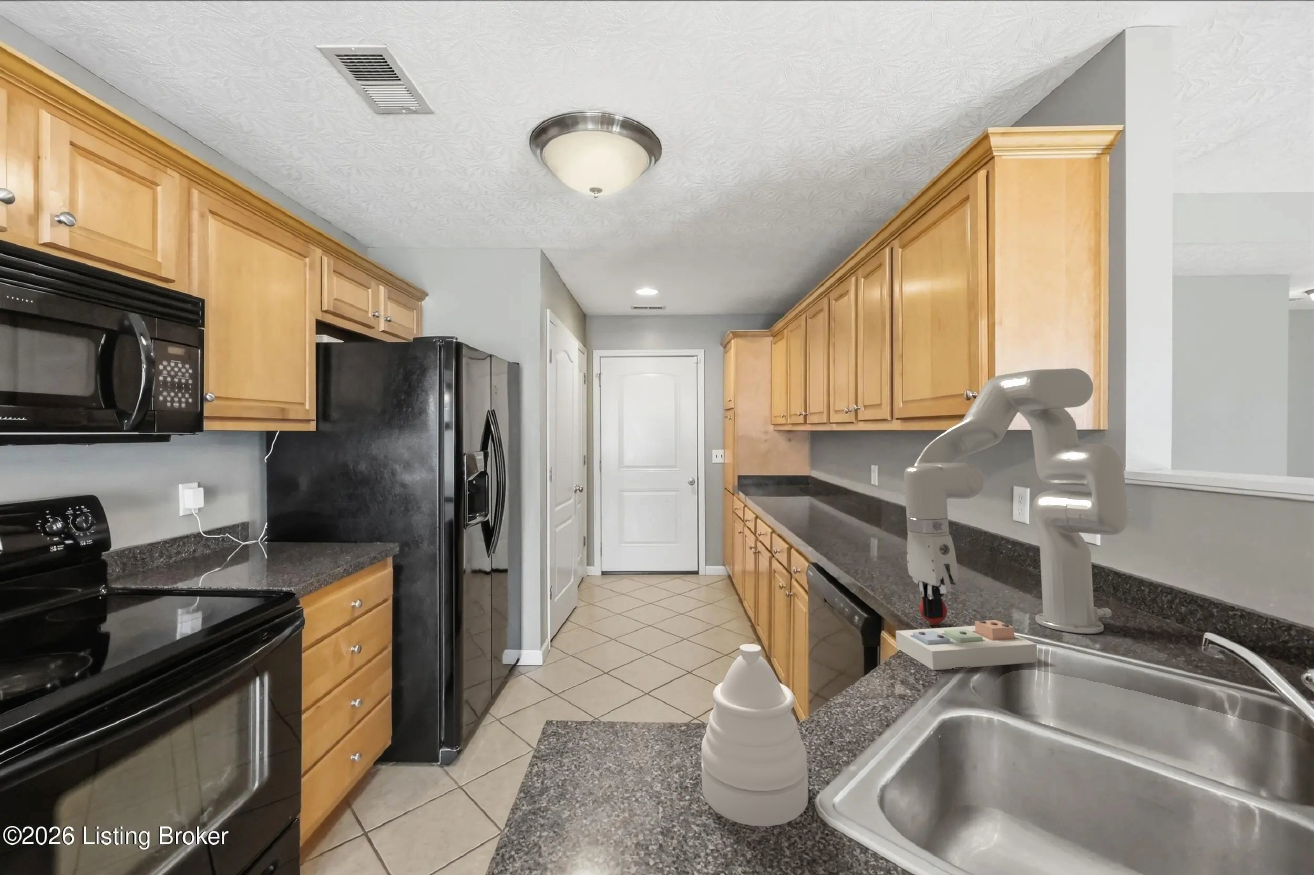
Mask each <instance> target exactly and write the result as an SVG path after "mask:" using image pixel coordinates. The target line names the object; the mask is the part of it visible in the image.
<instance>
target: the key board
mask: <svg viewBox="0 0 1314 875" xmlns="http://www.w3.org/2000/svg"><path fill="white" fill-rule="evenodd" d="M956 629H967V630H969V631H971V632H973V633H975V625H968V626H967V625H964V626H951V627H935V628H922V629H921V628H920V629H918V628H917V629H906V630H903V629H902V630H895V647H896V649H897V650H899V651H901V652H903V653H904V654H906V655H907V656H909V657H911V658H913V659H915V660H916V661H917V662H919V663H921V664H923V665H924V666H925V667H927V668H929V669H930V670H932V671H936V670H938V671H939V670H948V669H949V670H950V669H951V670H952V668H954V669H956V668H955V667H963V666H970V667H969V668H976V667H977V668H979V667H980V668H981V667H992V666H1003V665H1004V666H1005V665H1018V664H1029V663H1033V664H1034V663H1038V645H1037V643H1035V642H1033V641H1031V640H1028V639H1027V638H1024V637H1021V636H1019V635H1016V634H1014V639H1010V640H995V641H992V640H990V639H987V638H985V637H983V636H982V637H983V641H981V642H967V643H959V642H957V641H955V640H953V639H951V638H950V644H938V645H926V644H924V643H922V642H920V641H919V640H917V639H915V638H913V632H924V631H936V632H938V633H940V634H942V635H944V630H956ZM978 635H979V634H978ZM944 636H945V635H944ZM980 636H981V635H980ZM946 637H947V636H946ZM948 638H949V637H948Z"/></svg>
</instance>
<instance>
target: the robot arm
mask: <svg viewBox="0 0 1314 875" xmlns="http://www.w3.org/2000/svg"><path fill="white" fill-rule="evenodd" d="M1093 393H1094V383H1093V380H1092V378H1091V376H1090V375H1089V374H1088V373H1087V372H1086V371H1084V370H1082V369H1080V368H1049V369H1048V368H1047V369H1044V368H1043V369H1040V368H1039V369H1032V370H1031V369H1030V370H1025V371H1019V372H1013V373H1005V374H1000V375H997V376H994V377H992V378H990V379H988V380H987V381H986V382H985V383H984V385H983V386H982V388H981V389H980V391H979V392H978V394H977V395H976V398H975V399H974V401H973V402H972V404H971V406H970V407H969V408H968V411H967V412H966V413H965V415H964V416H963V418H962V419H961V421H960V422H958V423H957V424H955V425H953V426H952V427H950V428H949V429H947V430H946V431H945V432H943V433H942V434H940V435H939V436H937V437H936V438H935V439H933V440H932V441H931V442H929V444H927V445H926V447H925V448H924V449H923V450H922V452H921V453H920V455H919V457H918V458H917V459H916V461H915V463H914V465H912V466H908V467H907V468H905V470H904V472H903V478H904V483H903V484H904V496H905V510H906V511H905V512H906V526H907V527H906V528H907V530H906V531H907V540H906V564H907V572H908V575H909V576H911V577H912V581H913V582H914V583H915V584H917V585H918V588H919V594H920V595H921V597H922V598H921V600H923V615H924V616H925V617H928V618H930V619H932V618H942V617H943V607H942V601H943V599H944V597H945V595H946V594H952V593H953V589H952V586H951V585H954V586H955V585H957V584H958V583H959V573H958V571H959V570H958V562H957V556H956V550H955V546H954V541H953V539H952V535H951V534H950V529H949V515H948V513H949V512H948V500H949V499H954V500H969V499H972V498H975V497H977V496H978V495H979V494H981V492H982V491H983V488H984V486H985V477H984V474H983V472H982V471H981V469H979V468H978V467H977V466H976V465H973V464H972V463H966V462H956V461H957V460H959V459H961V458H963V457H967V456H969V455H972V454H974V453H977V452H980V451H983V450H986V449H988V448H991V447H993V446H995V445H997V444H999V443H1000V442H1001V441H1002V440H1003V438H1004V437H1005V434H1006V433H1007V431H1008V429H1009V427H1010V426H1011V424H1012V423H1013V421H1014V420H1015V418H1016V416H1017V414H1018V413H1019V414H1021V416H1022V417H1023V418H1024V419H1025V421H1027V424H1029V427H1030V430H1031V435H1032V441H1033V453H1034V460H1035V461H1034V462H1035V469H1036V472H1037V476H1038V478H1039V479H1040V480H1041V481H1042V482H1044V483H1046V484H1050V485H1056V486H1057V485H1058V486H1084V487H1086V486H1087V487H1088V488H1089V489H1090V491H1085V490H1084V491H1083V490H1082V491H1081V490H1070V489H1069V490H1068V489H1067V490H1063V489H1052V490H1047V491H1042V492H1041V493H1039V494H1038V495H1036V497H1034V500H1033V502H1032V513H1033V517H1034V521H1035V524H1036V529H1037V534H1038V541H1039V556H1040V557H1039V558H1040V559H1039V560H1040V576H1041V580H1040V581H1041V595H1042V596H1041V597H1042V598H1041V599H1042V612H1041V613H1038V614H1036V615H1035V621H1036V623H1037V624H1039V625H1041V626H1044V627H1046V628H1049V629H1052V630H1056V631H1061V632H1068V633H1075V634H1099V633H1101V632H1103V631H1104V629H1105V627H1104V624H1103V623H1101V621H1099V619H1100V618H1108V617H1110V618H1111V617H1112V615H1113V613H1112V610H1111V609H1110V608H1108V607H1102V608H1098V607H1096V606H1094V591H1093V590H1094V588H1093V572H1092V571H1093V570H1092V552H1091V549H1090V547H1089V545H1088V543H1087V542H1086V540H1085V539H1084V537H1083V536H1082V534H1088V535H1089V534H1090V535H1100V536H1117V535H1120V534H1122V533H1123V532H1124V531H1125V530H1126V528H1127V525H1128V522H1129V509H1128V508H1129V507H1128V506H1129V505H1128V498H1127V487H1126V477H1125V469H1124V464H1123V460H1122V457H1121V456H1120V454H1119V453H1118V451H1117V450H1116V449H1115V448H1114V447H1112V446H1110V445H1108V444H1103V443H1080V440H1079V435H1078V429H1077V424H1076V420H1075V418H1073V416H1072V415H1071V413H1069V411H1068V410H1066V409H1067V408H1070V409H1071V408H1078V407H1081V406H1083V405H1086V404H1087V403H1088V402H1089V401H1090V399H1091V398H1092V395H1093Z"/></svg>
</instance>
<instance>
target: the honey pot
mask: <svg viewBox="0 0 1314 875" xmlns="http://www.w3.org/2000/svg"><path fill="white" fill-rule="evenodd" d="M739 653H740V655H739V656H738V657H737V658H736V659H735V660H734V661H733V663H732V664H731V666H730V668H729V669H728V670H727V672H726V675H725V677H724V679H723V681H722V682H720V683H719V684H717V685H716V686H715V688H714V689H713V692H712V698H713V699H712V700H713V702H714V705H713V708H712V710H711V712H710V714H709V716H708V724H707V725H706V729H705V734H704V736H703V738H702V740H701V754H700V756H701V787H702V788H701V789H702V796H703V797H704V799H705V800H704V801H705V802H706V803H707V804H708V805H709V806H710V807H711V808H712V810H713V811H714V812H716V813H718V814H720V815H721V816H722V817H723V818H726V819H728V820H731V821H733V822H736V823H738V824H742V825H748V826H753V827H772V826H779V825H784V824H786V823H788V822H791V821H793V820H796V819H797V818H798V817H799V816H801V815H802V813H804V812H805V809H806V808H807V806H808V803H809V782H808V781H809V780H808V777H809V776H808V759H807V757H808V752H807V749H806V746H805V744H804V742H803V740H802V736H801V733H800V730H799V728H798V722H797V720H796V717H795V716H794V715H793V713H792V709H793V707H794V706H795V703H796V698H795V695H794V693H793V691H792V690H791V689H790V688H789V687H788V686H786V685H784V684H783V683H781V682H780V681H779V680H778V677H777V676H776V674H775V672H774V670H773V668H771V665H770V664H769V663H768V662H767V660H766V659H765V658H763V656H762V655H761V653H762V646H760V645H759V644H755V643H746V644H745V643H744V644H741V645H740V646H739Z"/></svg>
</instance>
